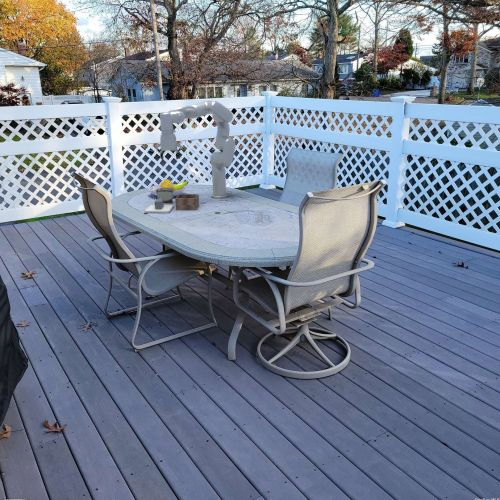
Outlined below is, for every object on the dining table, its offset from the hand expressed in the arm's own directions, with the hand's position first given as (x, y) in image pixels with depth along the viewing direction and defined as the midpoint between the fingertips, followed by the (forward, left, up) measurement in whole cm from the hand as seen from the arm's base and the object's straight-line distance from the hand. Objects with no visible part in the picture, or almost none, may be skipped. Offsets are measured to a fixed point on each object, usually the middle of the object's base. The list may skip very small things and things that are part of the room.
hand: (169, 159), depth 312 cm
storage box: (-12, +8, -31) cm, 34 cm away
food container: (+5, -6, -31) cm, 32 cm away
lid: (+5, +15, -30) cm, 34 cm away
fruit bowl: (+8, -28, -31) cm, 43 cm away
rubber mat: (+5, +15, -31) cm, 34 cm away
